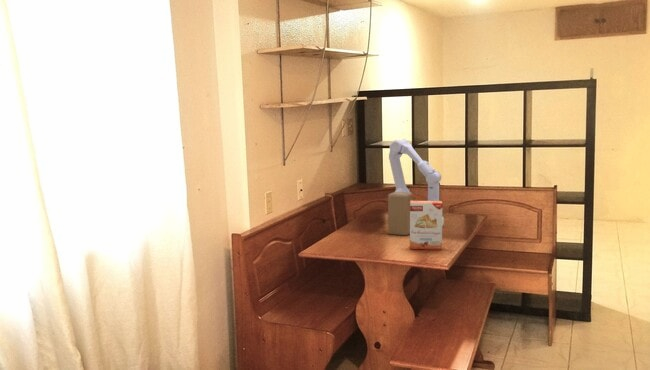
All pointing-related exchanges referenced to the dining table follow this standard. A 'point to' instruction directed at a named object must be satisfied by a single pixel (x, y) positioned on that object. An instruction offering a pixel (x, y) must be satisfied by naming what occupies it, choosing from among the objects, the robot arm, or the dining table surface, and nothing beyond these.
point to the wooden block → (399, 213)
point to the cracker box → (426, 225)
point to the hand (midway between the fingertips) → (433, 221)
